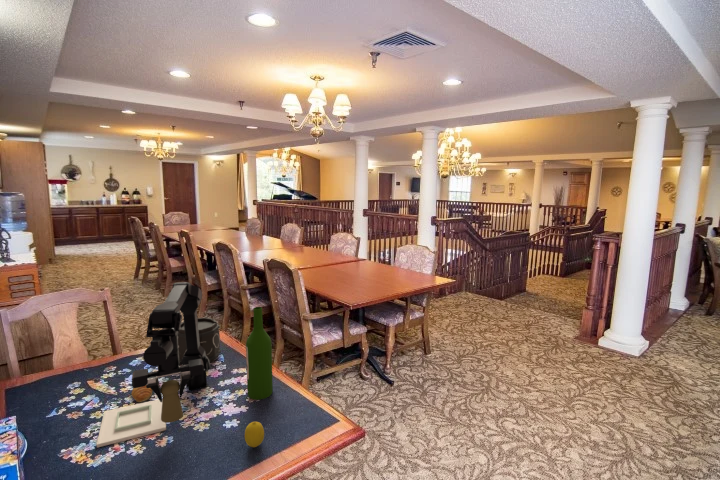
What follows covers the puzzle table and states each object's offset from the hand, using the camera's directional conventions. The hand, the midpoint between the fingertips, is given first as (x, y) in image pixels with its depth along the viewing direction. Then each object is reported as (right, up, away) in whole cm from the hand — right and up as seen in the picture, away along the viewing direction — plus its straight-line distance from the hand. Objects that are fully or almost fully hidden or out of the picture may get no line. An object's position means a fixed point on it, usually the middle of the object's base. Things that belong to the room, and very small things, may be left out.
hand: (171, 399), depth 114 cm
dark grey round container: (-14, -4, +54) cm, 56 cm away
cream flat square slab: (-16, -11, +9) cm, 22 cm away
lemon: (+25, -14, -2) cm, 29 cm away
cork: (0, -6, +1) cm, 6 cm away
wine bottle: (+20, -9, +27) cm, 34 cm away
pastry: (-22, -9, +25) cm, 34 cm away
